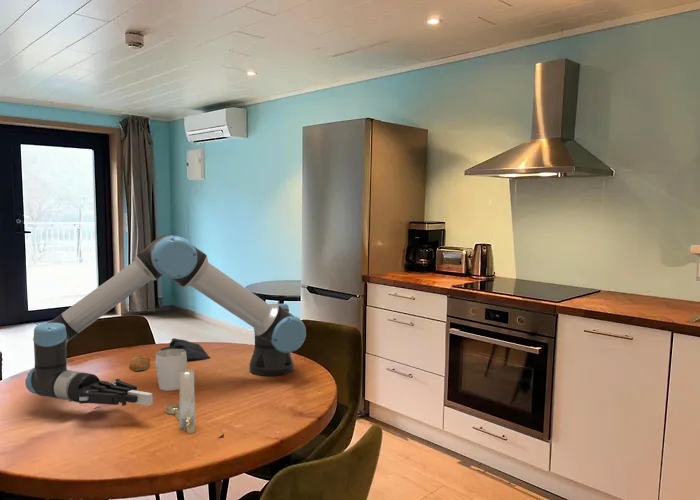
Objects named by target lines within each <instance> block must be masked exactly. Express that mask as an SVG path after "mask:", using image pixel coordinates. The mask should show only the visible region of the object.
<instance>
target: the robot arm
mask: <svg viewBox="0 0 700 500" xmlns="http://www.w3.org/2000/svg"><path fill="white" fill-rule="evenodd" d="M162 276H163V277H165V278H168V279H170V280H171V281H173V282H175V283H176V284H178V285H179V286H180V287H182V288H186V287H191V288H193V289H194V290H196V291H197V292H199V293H200V294H202V295H204V296H205V297H207V298H208V299H209V300H211V301H213V302H214V303H216V304H217V305H219V306H221V307H222V308H223V309H225V310H226V311H228V312H229V313H231V314H232V315H234V316H235V317H237V318H239V319H240V320H242V321H243V322H245V323H246V324H248V325H250V327H252V328H253V331H254V349H253V352H252V355H251V358H250V362H249V369H248V370H249V372H250V373H251V374H254V375H256V376H257V375H258V376H265V377H269V376H270V377H275V376H276V377H277V376H283V375H286V374H289V373H291V372H292V371H294V361H293V357H292V355H291V353H292V352H295V351H297V350H299V349H300V348H301V346H302V345H303V344H304V342H305V340H306V337H307V329H306V328H307V327H306V326H305V324H304V322H303V320H301V318H300V317H297V316H295V315H294V314H292V313H290V309H289V307H290V306H289V304H287V303H267V302H266V301H264V300H263V299H262V298H260V297H259V296H257V294H255V293H253V292H252V291H250V290H249V289H248V288H246V287H244V286H243V285H242V284H240V283H239V282H237V281H236V280H234V279H233V278H232V277H230V276H229V275H227V274H226V273H224V272H223V271H221V270H220V269H218V268H217V267H216V266H214V265H213V264H211V263H210V261H209V259H208V255H207V254H205V252H204V251H201V250H200V249H199V248H197V247H196V246H195V245H193V244H192V242H191V241H189V240H188V239H186V238H185V237H182V236H179V235H175V234H164V235H160V236H159V237H156V238H155V240H153V241H152V242H151V243H150V244H149V245H148V246H147V247H145V248H144V249H143V250H142V251H141V252H139V253H138V254H136V255H135V258H134V261H132V262H131V263H129V264H128V265H127V266H125V267H124V268H123V269H121V270H120V271H119V272H117V273H116V274H114V275H113V276H112V277H111V278H109V279H108V280H106V281H105V282H103V283H102V284H101V285H99V286H98V287H97V288H95V289H93V290H92V291H91V292H89V293H88V294H87V295H85V296H84V297H83V298H81V299H80V300H78V301H77V302H75V304H73V305H71V306H70V307H68V309H65V311H63V312H62V313H61V314H59V315H57V316H56V317H55V318H54V319H51V320H49V321H47V322H46V323H40V324H39V325H36V326H35V327H34V329H33V338H32V341H33V353H34V367H33V368H31V369H30V370H29V372H28V373H27V376H26V378H25V388H26V389H27V391H28V392H30V393H32V394H34V395H38V396H40V397H49V398H54V399H58V400H65V401H68V402H69V403H71V402H74V403H79V405H80V404H83V405H84V404H95V405H108V406H109V405H110V406H111V405H113V406H117V405H119V404H120V403H121V406H122V407H125V406H127V403H129V404H136V405H142V406H147V407H149V406H151V405H153V401H154V400H153V399H154V398H153V392H146V391H141V390H138V386H137V385H135V384H131V383H129V382H125V381H122V380H121V379H120V378H116V379H114V381H113V382H109V381H106V380H101V379H100V378H99V377H98V375H96V374H93V373H87V372H82V371H76V370H71V369H70V370H69V369H68V368H67V365H68V364H67V363H68V362H67V344H68V342H69V341H71V340H72V339H74V337H76V336H77V335H78V334H80V333H81V332H83V331H84V330H85V329H87V328H88V327H89V326H90V325H92V324H93V323H95V322H96V321H97V320H98V319H101V317H103V316H105V315H106V314H107V313H109V311H111V310H112V309H114V308H115V307H116V306H118V305H119V304H120V303H122V302H123V301H124V300H126V299H127V298H129V297H130V296H131V295H133V294H135V292H136V291H138V290H139V289H140V288H142V287H143V286H145V285H146V284H147V283H149V282H150V281H157V280H158V279H160V278H161V277H162Z"/></svg>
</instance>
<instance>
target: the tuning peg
mask: <svg viewBox="0 0 700 500" xmlns="http://www.w3.org/2000/svg"><path fill="white" fill-rule="evenodd" d="M195 373H196V372H195V370H194V369H186V370H182V371H180V372H179V389H178V390H179V392H178V393H179V395H178V396H179V402H177V403H176V402H175V403H169V404H168V405H166V406H165V414H167V415H173V416H175V417H176V419H177V420H178V422H179V429H180V430H182V431H186V432H187V434H188V435H189V434H194V433H196V412H195V411H196V409H195V407H196V405H195V403H196V402H195V401H196V399H195V398H196V395H195V393H196V390H195V385H196V383H195V382H196V381H195V379H196V378H195V376H196V374H195Z"/></svg>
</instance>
